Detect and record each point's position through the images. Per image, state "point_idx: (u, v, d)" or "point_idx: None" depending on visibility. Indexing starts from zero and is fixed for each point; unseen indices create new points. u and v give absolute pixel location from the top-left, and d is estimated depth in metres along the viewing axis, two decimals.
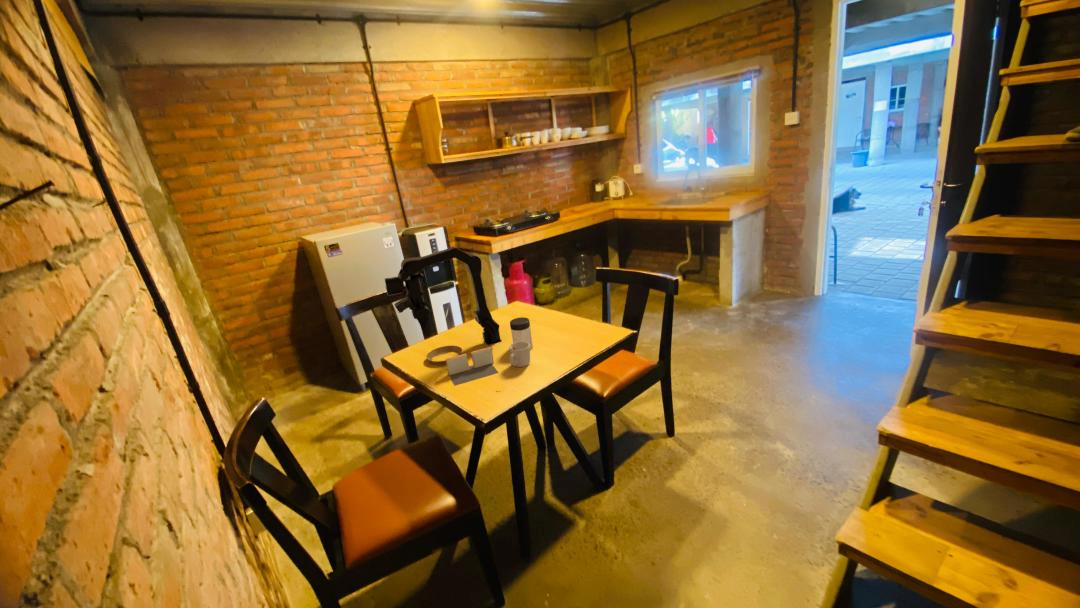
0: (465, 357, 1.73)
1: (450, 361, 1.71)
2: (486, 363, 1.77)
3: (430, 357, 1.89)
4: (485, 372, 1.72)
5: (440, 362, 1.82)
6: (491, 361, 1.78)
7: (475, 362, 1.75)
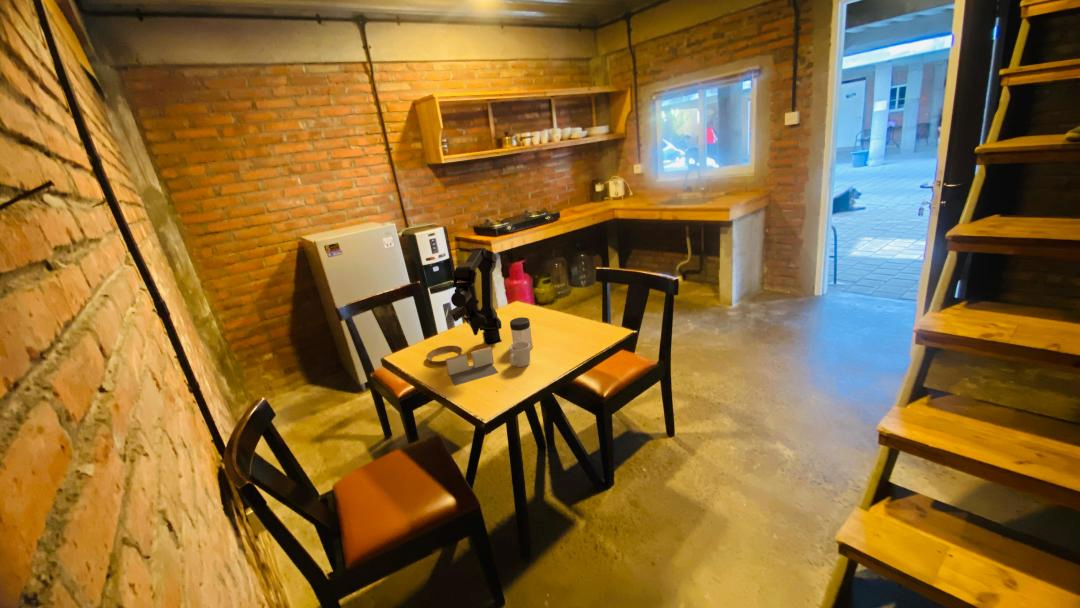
0: (465, 357, 1.73)
1: (450, 361, 1.71)
2: (486, 363, 1.77)
3: (430, 357, 1.89)
4: (485, 372, 1.72)
5: (440, 362, 1.82)
6: (491, 361, 1.78)
7: (475, 362, 1.75)
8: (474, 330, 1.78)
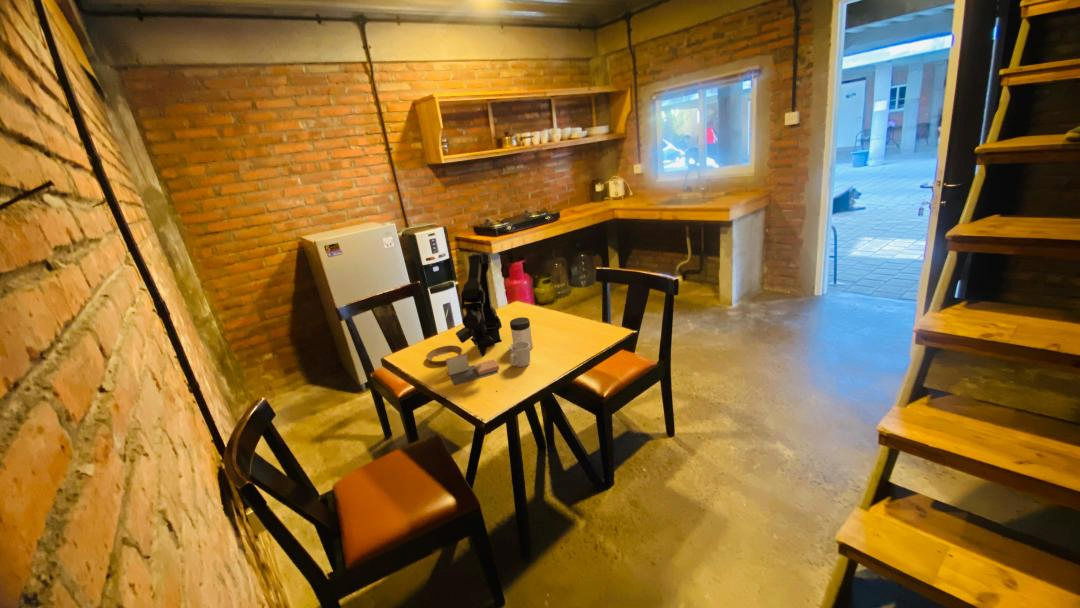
0: (465, 357, 1.73)
1: (450, 361, 1.71)
2: None
3: (430, 357, 1.89)
4: None
5: (440, 362, 1.82)
6: None
7: None
8: (481, 351, 1.74)
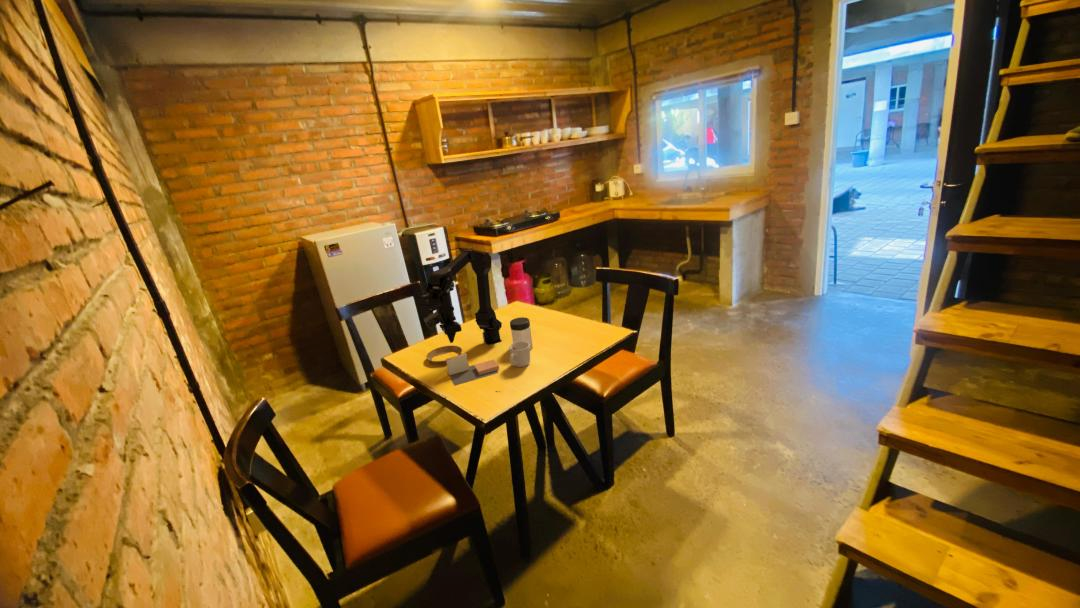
0: (465, 357, 1.73)
1: (450, 361, 1.71)
2: None
3: (430, 357, 1.89)
4: None
5: (440, 362, 1.82)
6: None
7: None
8: (450, 338, 1.75)
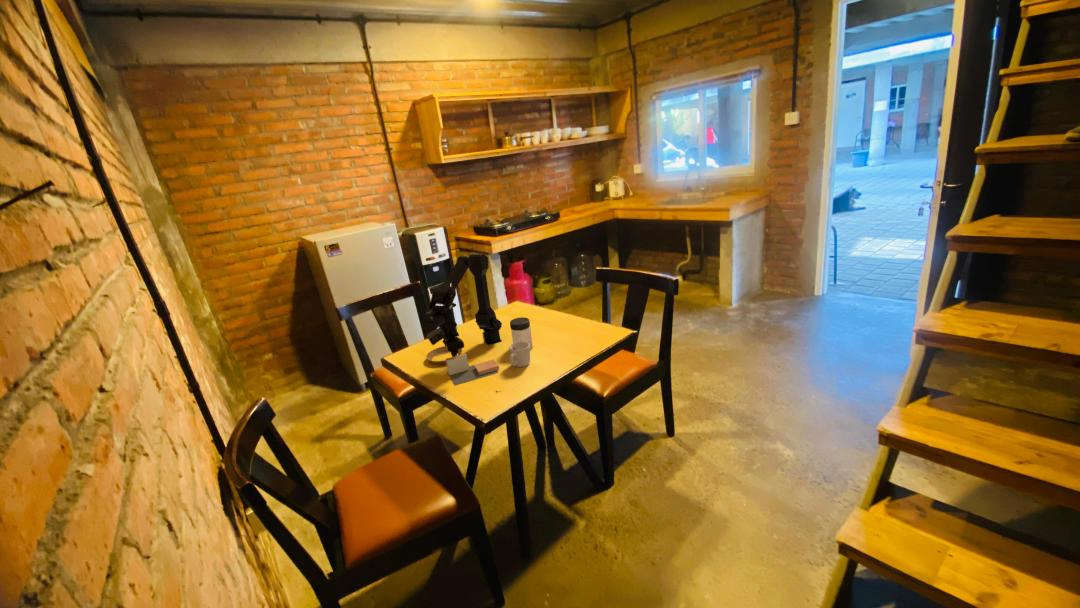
0: (465, 357, 1.73)
1: (450, 361, 1.71)
2: None
3: (430, 357, 1.89)
4: None
5: (440, 362, 1.82)
6: None
7: None
8: (453, 353, 1.75)
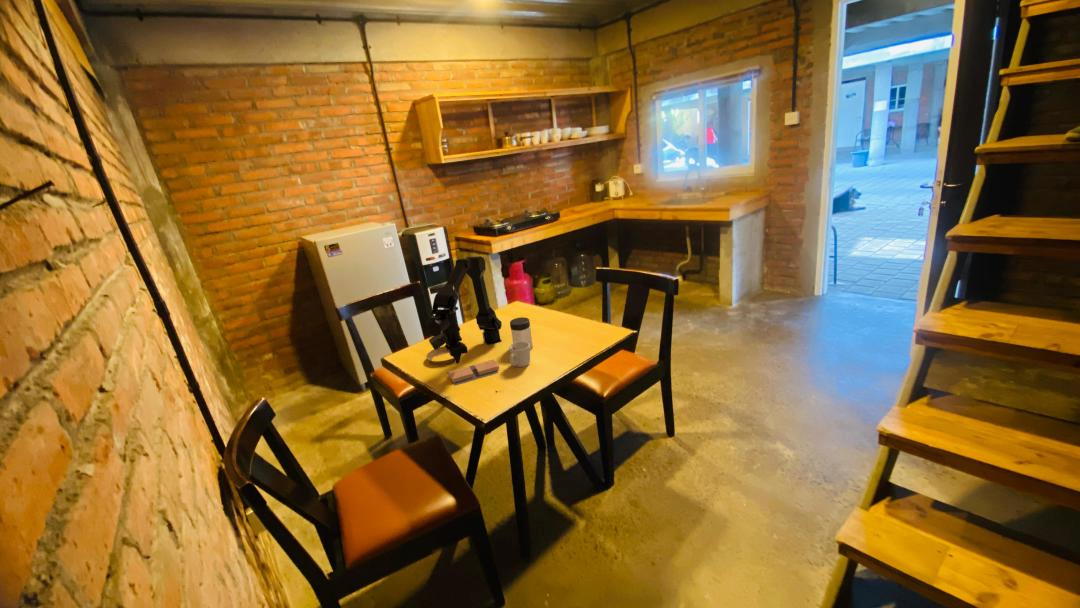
0: None
1: None
2: None
3: (430, 357, 1.89)
4: None
5: (440, 362, 1.82)
6: None
7: None
8: (455, 358, 1.71)
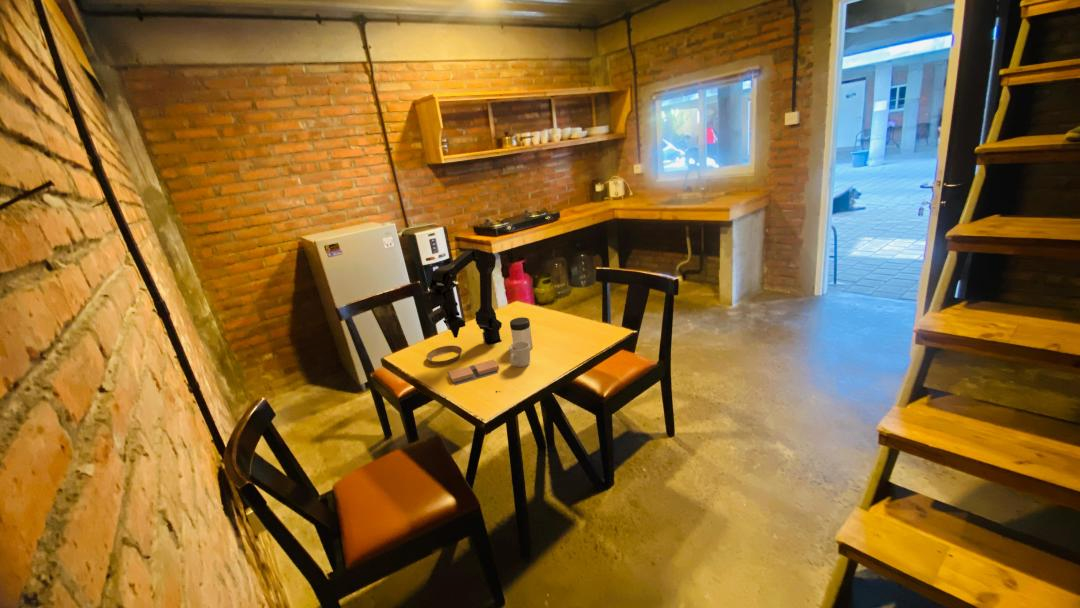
0: None
1: None
2: None
3: (430, 357, 1.89)
4: None
5: (440, 362, 1.82)
6: None
7: None
8: (454, 333, 1.77)
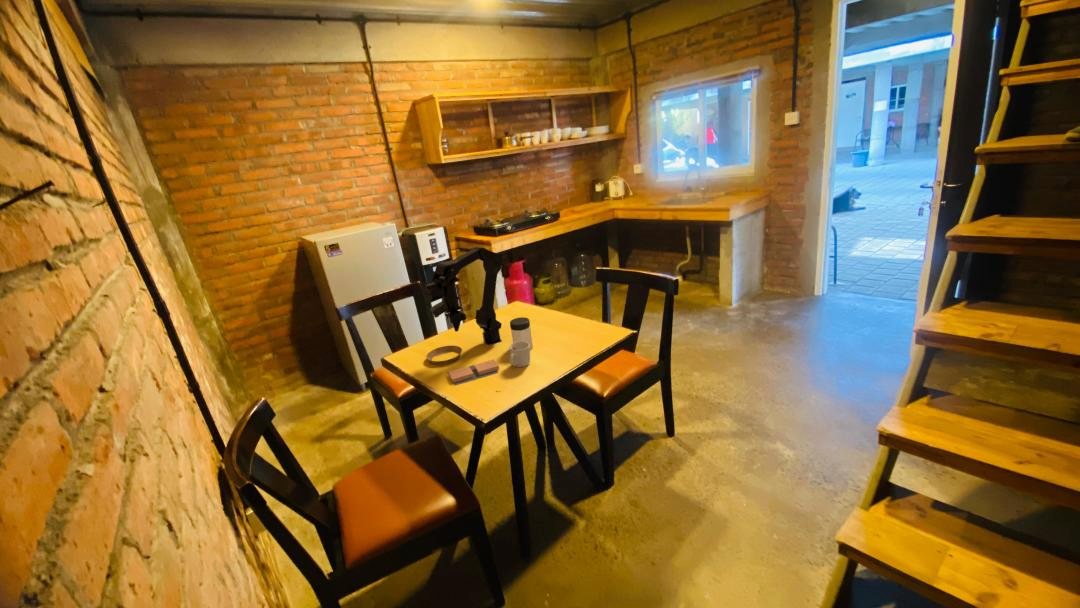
0: None
1: None
2: None
3: (430, 357, 1.89)
4: None
5: (440, 362, 1.82)
6: None
7: None
8: (455, 326, 1.81)
